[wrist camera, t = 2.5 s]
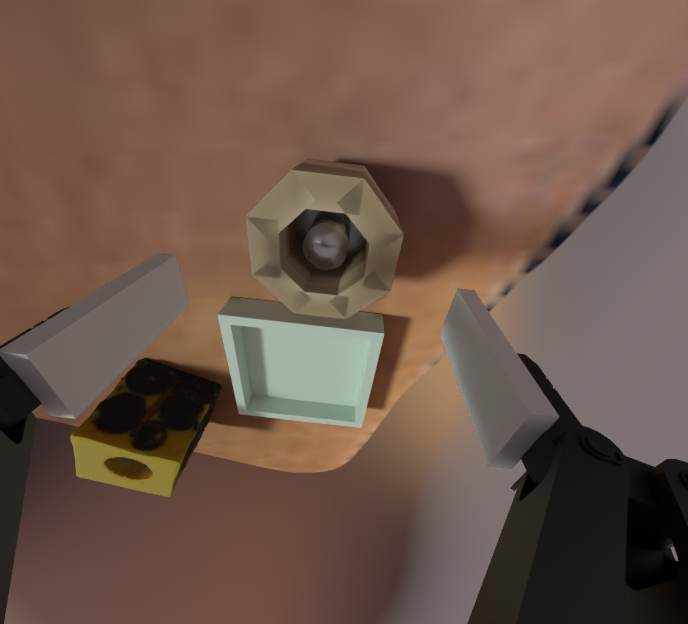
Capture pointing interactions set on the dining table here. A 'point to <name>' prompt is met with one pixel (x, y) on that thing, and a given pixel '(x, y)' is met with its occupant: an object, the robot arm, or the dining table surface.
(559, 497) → the robot arm
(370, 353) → the tray
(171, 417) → the yellow cube with holes
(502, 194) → the dining table surface
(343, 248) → the grey peg stand
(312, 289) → the ring
